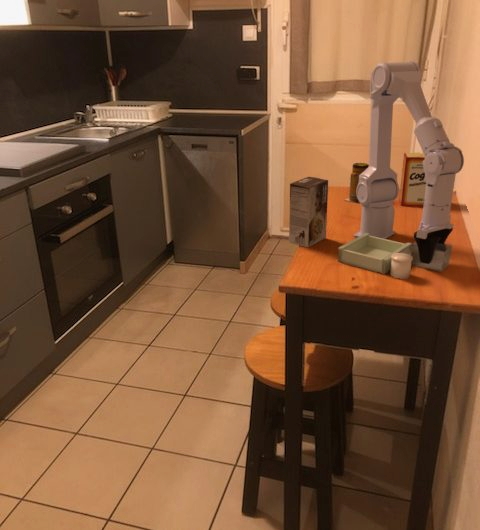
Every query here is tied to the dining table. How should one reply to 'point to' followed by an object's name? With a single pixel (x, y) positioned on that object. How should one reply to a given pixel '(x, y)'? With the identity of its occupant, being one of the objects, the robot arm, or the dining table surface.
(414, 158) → the baking soda box
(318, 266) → the dining table surface
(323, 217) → the coffee box
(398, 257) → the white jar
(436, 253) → the tea tin
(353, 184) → the condiment
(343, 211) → the dining table surface
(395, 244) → the tote
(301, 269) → the dining table surface
